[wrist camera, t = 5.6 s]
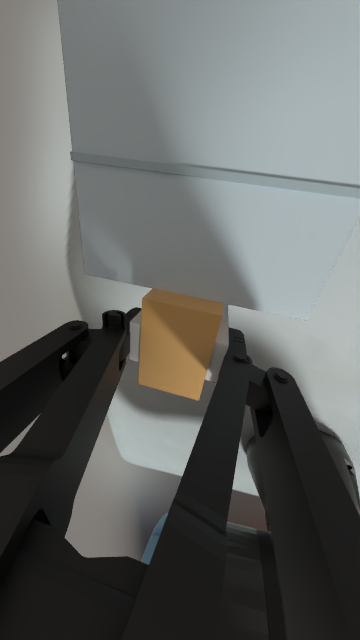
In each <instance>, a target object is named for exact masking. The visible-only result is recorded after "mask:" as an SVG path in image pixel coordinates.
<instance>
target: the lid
mask: <svg viewBox="0 0 360 640" xmlns="http://www.w3.org/2000/svg"><path fill="white" fill-rule="evenodd" d="M58 9H59V20H60V31H61V40H62V50H63V61H64V70H65V81H66V91H67V101H68V111H69V121H70V132H71V142H72V152H70V154H71V160H73V162H74V172H75V182H76V192H77V202H78V212H79V223H80V233H81V243H82V253H83V263H84V273H85V274H87V275H92V276H97V277H101V278H106V279H111V280H115V281H120V282H125V283H130V284H134V285H139V286H144V287H149V288H153V289H152V290H151V291H150V292H149V293H148V294H146V295H145V296H144V297H143V298H142V316H141V337H140V357H139V377H138V384H140V385H144V386H147V387H151V388H155V389H158V390H162V391H165V392H169V393H173V394H176V395H180V396H183V397H187V398H191V399H194V400H198V401H199V399H200V395H201V391H202V388H203V384H204V381H205V377H206V373H207V370H208V366H209V362H210V359H211V355H212V352H213V348H214V344H215V341H216V337H217V334H218V330H219V326H220V323H221V319H222V314H223V303H224V304H229V305H234V306H238V307H243V308H248V309H252V310H257V311H262V312H267V313H271V314H276V315H281V316H286V317H290V318H295V319H300V320H304V321H306V319H307V317H308V316H309V314H310V312H311V310H312V308H313V306H314V304H315V302H316V300H317V298H318V296H319V294H320V292H321V290H322V289H323V287H324V285H325V283H326V281H327V279H328V277H329V275H330V273H331V271H332V269H333V267H334V265H335V263H336V262H337V260H338V258H339V256H340V254H341V252H342V250H343V248H344V246H345V244H346V242H347V240H348V238H349V236H350V235H351V233H352V231H353V229H354V227H355V225H356V223H357V221H358V219H359V217H360V0H58Z"/></svg>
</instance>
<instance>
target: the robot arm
mask: <svg viewBox="0 0 360 640" xmlns="http://www.w3.org/2000/svg"><path fill="white" fill-rule="evenodd" d="M141 316H142V309H141V308H137V307H136V308H133V309H131V310H130V311H128V312H127V313H126V314H125V313H124V312H122V311H118V310H111V311H106V312H104V313H103V314H102V320H103V327H102V329H89V328H88V324H87V323H86V322H84V321H78V320H77V321H71V322H68V323H65V324H64V325H62V326H60V327H59V328H57V329H55V330H54V331H52V332H50V333H48V334H47V335H45V336H43V337H42V338H40V339H38V340H37V341H35V342H33V343H32V344H30V345H28V346H27V347H25V348H23V349H21V350H20V351H18V352H17V353H15V354H13V355H11V356H10V357H8V358H7V359H5V360H3V361H1V362H0V453H1V452H2V451H3V450H4V448H6V447H7V446H8V445H9V444H10V443H11V442H12V441H13V440H14V439H15V438H16V437H17V436H18V435H19V434H20V433H21V432H22V431H23V430H24V429H25V428H26V427H27V426H28V425H29V424H30V423H31V422H32V421H33V420H34V419H35V418H36V417H37V416H38V415H39V414H40V413H41V414H40V416H39V417H38V418H37V420H36V421H35V423H34V424H33V425H32V427H31V428H30V430H29V431H28V432H27V434H26V435H25V437H24V438H23V439H22V441H21V442H20V444H19V445H18V446H17V448H16V449H15V450H14V451H13V452H12V453H10V454H9V455H5V456H1V457H0V640H360V497H359V492H358V486H357V481H356V474H355V469H354V466H353V463H352V461H351V459H350V457H349V455H348V453H347V451H346V449H345V448H344V446H343V445H342V444H341V443H340V442H339V441H338V440H336V439H335V438H333V437H332V436H330V435H328V434H326V433H323V432H320V431H319V430H318V428H317V425H316V423H315V421H314V419H313V417H312V415H311V413H310V411H309V409H308V407H307V405H306V402H305V400H304V398H303V396H302V394H301V392H300V390H299V388H298V386H297V384H296V382H295V380H294V378H293V377H292V376H291V375H290V374H289V373H288V372H286V371H284V370H282V369H279V368H269V369H268V370H267V372H266V371H263V370H261V369H259V368H257V367H255V366H254V365H253V364H252V360H251V358H250V357H249V356H248V355H247V353H246V346H245V340H244V334H243V333H242V332H241V331H240V330H237V329H232V328H228V304H224V303H223V314H222V319H221V323H220V326H219V330H218V334H217V337H216V341H215V344H214V348H213V352H212V355H211V359H210V362H209V366H208V370H207V373H206V377H205V380H208V381H212V382H216V383H217V384H216V387H215V389H214V392H213V395H212V397H211V400H210V403H209V406H208V408H207V411H206V414H205V416H204V419H203V422H202V425H201V427H200V430H199V433H198V436H197V438H196V441H195V444H194V446H193V449H192V452H191V455H190V457H189V460H188V463H187V465H186V468H185V471H184V474H183V476H182V479H181V482H180V485H179V487H178V490H177V493H176V495H175V498H174V500H173V502H172V505H171V507H170V510H169V512H168V513H167V514H165V515H164V516H163V517H162V518H161V519H160V521H159V522H158V524H157V525H156V527H155V529H154V531H153V533H152V535H151V538H150V540H149V542H148V545H147V547H146V550H145V552H144V555H143V558H142V561H141V562H140V561H138V560H135V559H133V558H130V557H98V558H86V557H83V556H81V555H80V554H79V553H78V551H77V550H76V549H75V548H74V547H73V546H72V545H71V544H70V543H69V542H68V541H67V540H66V539H65V538H64V537H65V534H66V531H67V528H68V525H69V522H70V518H71V515H72V509H73V503H74V499H75V496H76V493H77V490H78V487H79V485H80V482H81V479H82V477H83V474H84V472H85V469H86V466H87V463H88V461H89V458H90V456H91V453H92V451H93V448H94V445H95V443H96V440H97V438H98V435H99V432H100V430H101V427H102V424H103V422H104V419H105V417H106V414H107V411H108V409H109V406H110V404H111V401H112V398H113V396H114V393H115V390H116V388H117V385H118V383H119V380H120V377H121V375H122V372H123V370H124V367H125V364H126V357H127V355H128V354H129V360H132V361H136V362H139V357H140V337H141ZM65 353H66V355H67V356H66V357H65V358H64V359H62V355H63V354H65ZM218 377H219V378H218ZM246 404H247V405H248V406H250V407H251V415H252V420H253V426H254V432H255V436H254V437H253V438H252V439H251V440H250V441H249V442H248V445H247V449H246V451H247V462H248V467H249V470H250V473H251V475H252V478H253V481H254V483H255V486H256V489H257V491H258V494H259V497H260V499H261V502H262V505H263V507H264V511H265V518H266V526H267V531H262V530H258V529H254V528H250V527H246V526H241V525H237V524H233V523H229V522H227V517H228V511H229V505H230V499H231V493H232V486H233V480H234V474H235V467H236V461H237V455H238V449H239V442H240V436H241V430H242V423H243V417H244V411H245V405H246Z"/></svg>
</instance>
